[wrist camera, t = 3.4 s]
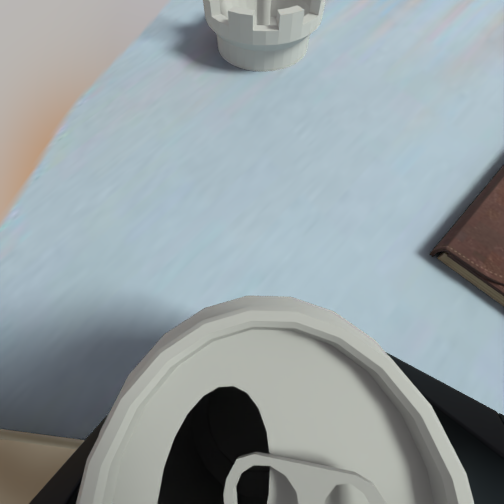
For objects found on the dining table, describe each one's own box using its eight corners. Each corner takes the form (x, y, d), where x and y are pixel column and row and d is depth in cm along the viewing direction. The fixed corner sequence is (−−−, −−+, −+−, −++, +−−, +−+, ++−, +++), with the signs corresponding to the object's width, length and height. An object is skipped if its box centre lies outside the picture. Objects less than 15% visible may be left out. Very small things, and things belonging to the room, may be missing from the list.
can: (212, 327, 16) (131, 245, 5) (327, 350, 16) (494, 308, 5) (177, 471, 13) (-178, 949, 2) (319, 506, 13) (735, 1376, 2)
